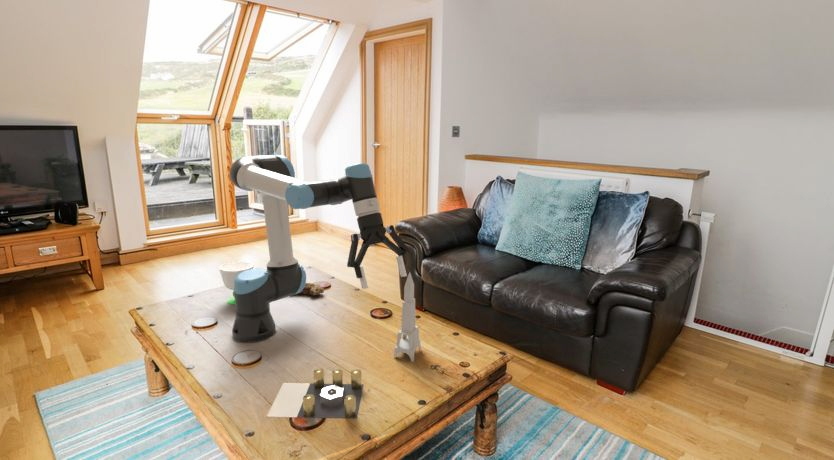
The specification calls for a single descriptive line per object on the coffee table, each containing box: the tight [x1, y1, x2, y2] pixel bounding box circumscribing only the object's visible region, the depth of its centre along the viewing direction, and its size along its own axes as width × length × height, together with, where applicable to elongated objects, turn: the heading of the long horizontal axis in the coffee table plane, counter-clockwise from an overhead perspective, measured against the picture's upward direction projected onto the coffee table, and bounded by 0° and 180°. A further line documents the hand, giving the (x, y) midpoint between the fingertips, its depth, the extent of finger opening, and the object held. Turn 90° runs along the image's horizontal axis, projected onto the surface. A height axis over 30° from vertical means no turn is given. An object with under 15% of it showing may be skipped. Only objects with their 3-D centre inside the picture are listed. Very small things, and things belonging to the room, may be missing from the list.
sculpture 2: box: [393, 271, 422, 363], centre depth 152 cm, size 7×8×30 cm
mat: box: [266, 382, 364, 419], centre depth 128 cm, size 24×16×1 cm, turn 90°
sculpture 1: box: [294, 282, 325, 296], centre depth 205 cm, size 8×19×5 cm, turn 75°
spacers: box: [303, 368, 362, 419], centre depth 128 cm, size 14×16×5 cm
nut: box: [320, 385, 344, 407], centre depth 128 cm, size 7×6×3 cm
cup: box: [218, 260, 254, 306], centre depth 195 cm, size 14×14×16 cm
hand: (385, 282), depth 138 cm, fingers open, 13 cm apart
